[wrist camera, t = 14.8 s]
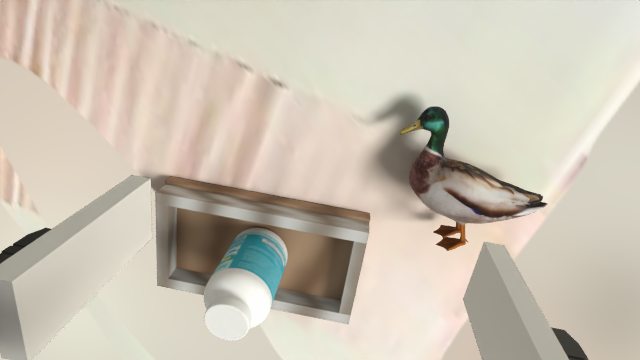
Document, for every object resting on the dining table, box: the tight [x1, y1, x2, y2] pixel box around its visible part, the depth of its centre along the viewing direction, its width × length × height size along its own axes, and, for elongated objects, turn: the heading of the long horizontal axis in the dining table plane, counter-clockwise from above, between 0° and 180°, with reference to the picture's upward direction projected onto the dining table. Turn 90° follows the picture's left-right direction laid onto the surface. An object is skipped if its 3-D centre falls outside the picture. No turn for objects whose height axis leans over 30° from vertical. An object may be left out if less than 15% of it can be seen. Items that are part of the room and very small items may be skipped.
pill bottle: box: [204, 228, 288, 340], centre depth 46 cm, size 8×7×14 cm
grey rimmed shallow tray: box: [155, 176, 370, 324], centre depth 52 cm, size 26×15×4 cm, turn 81°
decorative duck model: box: [400, 107, 547, 251], centre depth 43 cm, size 15×8×15 cm
